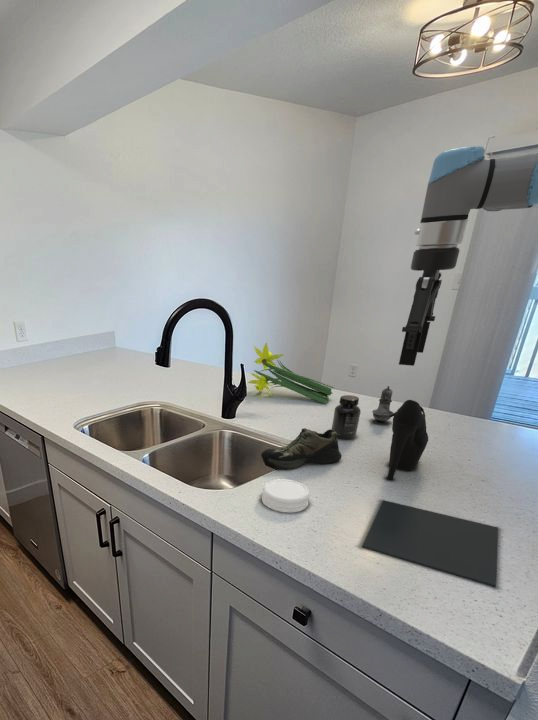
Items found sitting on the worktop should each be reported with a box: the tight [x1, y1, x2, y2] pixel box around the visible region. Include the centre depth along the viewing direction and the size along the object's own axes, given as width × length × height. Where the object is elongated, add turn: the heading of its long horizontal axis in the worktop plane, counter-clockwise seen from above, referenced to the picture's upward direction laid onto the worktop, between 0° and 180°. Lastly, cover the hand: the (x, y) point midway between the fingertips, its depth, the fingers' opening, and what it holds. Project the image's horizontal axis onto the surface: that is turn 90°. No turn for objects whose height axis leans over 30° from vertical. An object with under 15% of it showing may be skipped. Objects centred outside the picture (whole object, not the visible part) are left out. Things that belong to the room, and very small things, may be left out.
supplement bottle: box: [331, 394, 361, 441], centre depth 127 cm, size 7×7×12 cm
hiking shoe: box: [260, 428, 342, 471], centre depth 114 cm, size 8×21×9 cm, turn 99°
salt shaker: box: [371, 385, 394, 426], centre depth 135 cm, size 6×6×12 cm
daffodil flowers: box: [247, 342, 336, 405], centre depth 164 cm, size 17×15×35 cm
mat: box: [361, 499, 499, 588], centre depth 83 cm, size 20×20×1 cm
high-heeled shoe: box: [386, 399, 429, 481], centre depth 105 cm, size 8×19×20 cm, turn 136°
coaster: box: [261, 478, 311, 514], centre depth 97 cm, size 10×10×4 cm
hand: (411, 358), depth 94 cm, fingers open, 13 cm apart
